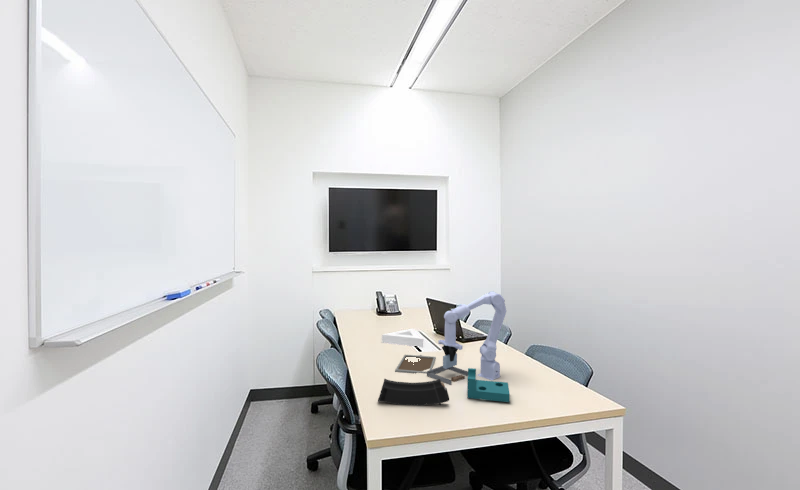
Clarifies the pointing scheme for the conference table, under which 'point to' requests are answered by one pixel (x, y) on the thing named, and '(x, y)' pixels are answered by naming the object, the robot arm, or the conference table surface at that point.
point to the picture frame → (415, 364)
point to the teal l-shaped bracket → (486, 388)
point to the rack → (433, 372)
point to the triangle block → (403, 338)
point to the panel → (447, 362)
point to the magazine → (414, 393)
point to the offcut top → (457, 377)
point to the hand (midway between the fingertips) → (449, 360)
